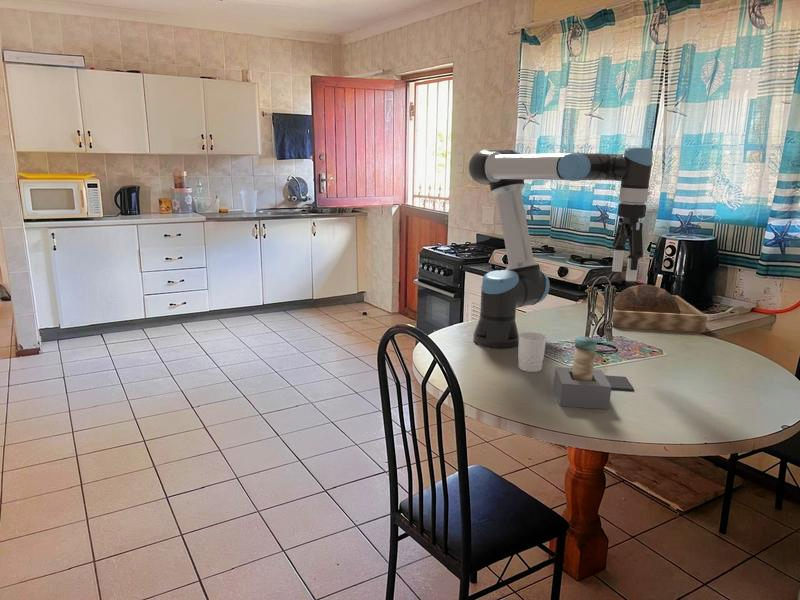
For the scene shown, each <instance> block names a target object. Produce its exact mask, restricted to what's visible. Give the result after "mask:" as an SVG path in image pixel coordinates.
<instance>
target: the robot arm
mask: <svg viewBox="0 0 800 600" xmlns="http://www.w3.org/2000/svg"><path fill="white" fill-rule="evenodd" d="M653 155H654V151H653V149H652V148H651V147H638V146H637V147H633V146H632V147H630V146H629V147H626V148H624V153H621V154H618V153H617V154H615V153H614V154H613V153H601V152H599V153H598V152H597V153H588V152H587V153H585V152H569V153H528V154H527V153H524V154H523V153H521V152H519V151H517V150H513V149H508V148H507V149H489V148H488V149H482V150H481V149H480V150H479V151H477V152H475V153H474V154H473V155H472V156H471V157H470V160H469V162H468V172H469V174H470V175H469V176H470V177H471V178H472V179H473V181H475V182H476V183H478V184H481V185H486V186H487V185H489V189H490V193H491V194H492V195H494V196H495V197H496V202H497V208H498V212H499V213H498V214H499V220H500V223H501V229H502V230H501V231H502V235H503V240H504V246H505V251H506V256H507V263H508V265H507V267H506V268H505V269H501V270H491V271H489V272H486V273H485V274H484V275H483V278H482V283H481V286H480V289H481V291H480V293H481V295H480V308H479V309H480V313H479V319H478V321H477V325H476V327H475V329H474V331H473V339H472V340H473V341H474V343H476V344H478V345H481V346H484V347H487V348H493V349H494V348H496V349H507V348H513V347H516V346H518V344H519V334H520V333H519V330H518V327H517V323H516V315H517V314H516V313H517V309H519V308H522V307H528V306H534V305H537V304H538V303H541V302H543V301H544V300H545V299H546V298H547V296H548V295H549V291H550V288H551V287H550V280H549V277H548V275H547V274H546V273H545V272H544V271H543V270H541V267H540V263H539V262H537V261H536V260H535V259H534V254H533V249H532V244H531V239H530V231H529V227H528V222H527V217H526V210H525V205H524V200H523V194H522V191H523V189H524V187H525V180H532V181H533V180H535V181H536V180H542V181H543V180H547V181H548V180H549V181H570V182H580V181H616V182H620V188H619V195H618V196H619V197H618V201H619V202H620V203H619V204H618V205H617V213H616V215H617V216H618V217H619V218H618V223H617V228H616V231H615V234H614V238H613V241H612V247H613V259H612V267H611V268H612V269H611V271H612V272H617V273H618V272H619V273H621V272H622V271H623V263H624V256H625V251H626V244H627V242H628V244H627V245H628V252H629V255H628V256H627V266H626V274H625V282H637V279H638V278H637V277H638V271H639V263H640V259H641V258H643V257H644V252H643V251H644V248H643V245H644V244H643V225H644V224H643V222H639V219H643V218H645V217H646V214H647V213H646V212H647V205H646V204H645V203H648V196H649V195H650V194H651V192H650V191H649V188H650V181H651V174H652V168H653V167H652V166H653Z"/></svg>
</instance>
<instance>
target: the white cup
mask: <svg viewBox="0 0 800 600" xmlns="http://www.w3.org/2000/svg"><path fill="white" fill-rule="evenodd" d="M518 334H519V344H518V345H517V346H518V347H517V348H518V351H517V352H518V353H517V355H518V358H517V359H518V360H517V361H518V363H517V364H518V365H517V367H518V368H519V370H521V371H524V372H528V373H538V372H540V371H542V368H543V362H544V361H543V360H544V359H545V358H544V356H545V351H546V345H547V344H546V342H547V336H546V335H544V334H543V333H539V332H534V331H524V332H523V331H522V332H520V333H518Z"/></svg>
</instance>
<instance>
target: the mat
mask: <svg viewBox="0 0 800 600" xmlns="http://www.w3.org/2000/svg"><path fill="white" fill-rule="evenodd" d="M604 375H605V377H606V379H607V380H608V382H609V384H610V385H611V391H612V390H615V391H629V392H635V388H634V387H633V385H632V384H631V382H630V380H629V379H628V378H627V376H620V375H606V374H604Z"/></svg>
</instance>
